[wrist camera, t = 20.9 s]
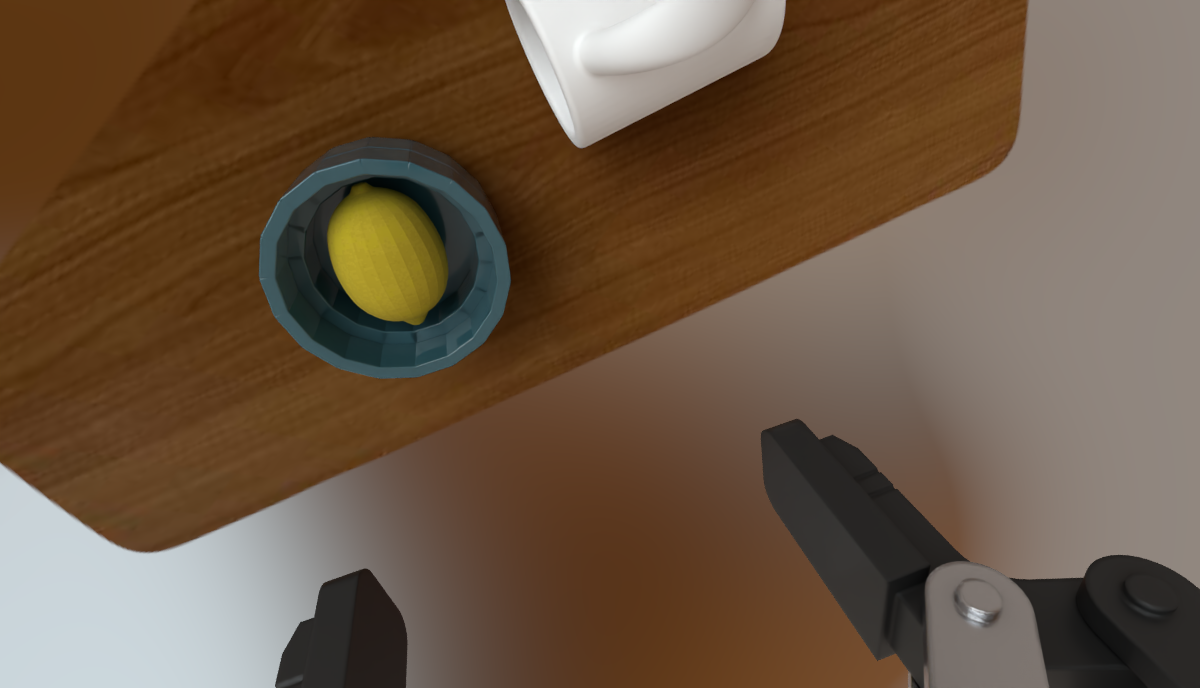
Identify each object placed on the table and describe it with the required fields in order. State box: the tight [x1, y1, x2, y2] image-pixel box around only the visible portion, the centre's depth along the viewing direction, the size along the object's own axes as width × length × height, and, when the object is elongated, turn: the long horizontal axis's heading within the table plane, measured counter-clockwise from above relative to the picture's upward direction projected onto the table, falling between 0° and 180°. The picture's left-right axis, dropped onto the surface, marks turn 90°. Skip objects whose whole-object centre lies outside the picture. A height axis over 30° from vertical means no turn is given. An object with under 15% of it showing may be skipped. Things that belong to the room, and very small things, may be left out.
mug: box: [505, 0, 786, 148], centre depth 25 cm, size 8×10×12 cm
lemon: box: [327, 182, 448, 325], centre depth 29 cm, size 6×6×8 cm
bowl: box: [259, 137, 511, 379], centre depth 30 cm, size 11×12×6 cm
